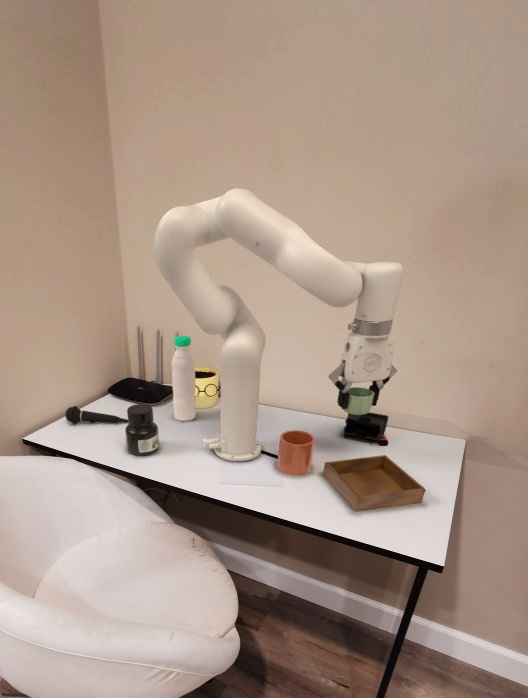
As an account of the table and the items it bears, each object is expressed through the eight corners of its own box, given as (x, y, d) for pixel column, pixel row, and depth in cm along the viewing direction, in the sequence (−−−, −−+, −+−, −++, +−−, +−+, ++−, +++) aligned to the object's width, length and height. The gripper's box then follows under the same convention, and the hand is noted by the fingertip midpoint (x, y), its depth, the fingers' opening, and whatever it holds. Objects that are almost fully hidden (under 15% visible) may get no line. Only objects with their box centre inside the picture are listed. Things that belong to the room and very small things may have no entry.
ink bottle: (146, 460, 115) (142, 418, 108) (120, 452, 119) (115, 412, 112) (166, 444, 122) (163, 405, 115) (140, 438, 126) (137, 399, 119)
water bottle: (172, 413, 140) (169, 334, 126) (194, 411, 140) (193, 332, 126) (174, 422, 134) (171, 340, 120) (197, 420, 134) (196, 339, 120)
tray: (354, 512, 91) (358, 498, 89) (322, 475, 104) (325, 462, 102) (421, 503, 93) (426, 489, 91) (381, 468, 106) (385, 454, 104)
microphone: (129, 428, 138) (67, 422, 139) (130, 410, 137) (68, 404, 137) (126, 431, 133) (62, 424, 134) (128, 412, 132) (63, 405, 132)
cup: (284, 478, 104) (287, 447, 99) (272, 462, 111) (275, 432, 106) (315, 474, 105) (320, 443, 100) (302, 458, 111) (306, 428, 107)
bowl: (349, 417, 99) (353, 398, 97) (336, 406, 104) (339, 388, 102) (375, 414, 100) (380, 395, 97) (361, 403, 105) (365, 386, 103)
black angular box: (384, 434, 120) (390, 412, 117) (379, 445, 115) (384, 422, 112) (347, 427, 125) (351, 405, 121) (340, 437, 120) (344, 414, 117)
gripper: (341, 335, 88) (328, 415, 98) (421, 327, 89) (400, 407, 99) (325, 326, 94) (314, 403, 104) (399, 319, 96) (382, 396, 105)
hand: (356, 404), depth 101 cm, fingers closed on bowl, 6 cm apart
